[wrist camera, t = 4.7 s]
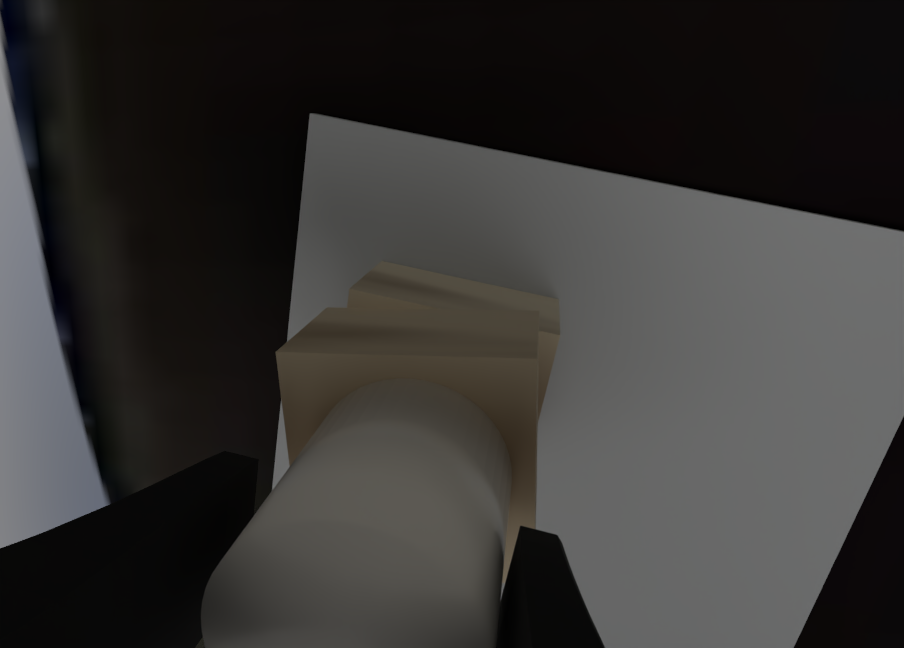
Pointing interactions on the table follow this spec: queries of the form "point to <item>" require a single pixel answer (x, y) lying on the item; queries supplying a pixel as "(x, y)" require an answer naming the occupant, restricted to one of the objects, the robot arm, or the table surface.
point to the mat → (648, 365)
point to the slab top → (423, 376)
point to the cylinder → (375, 532)
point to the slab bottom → (458, 303)
